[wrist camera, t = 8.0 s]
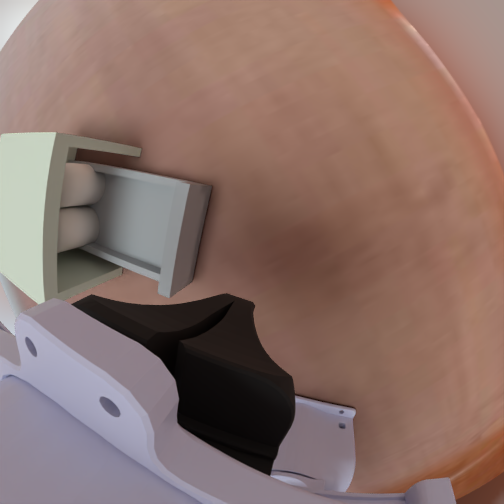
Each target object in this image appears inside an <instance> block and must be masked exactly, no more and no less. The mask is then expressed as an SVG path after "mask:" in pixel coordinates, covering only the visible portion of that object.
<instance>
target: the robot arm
mask: <svg viewBox="0 0 504 504" xmlns="http://www.w3.org/2000/svg"><path fill="white" fill-rule="evenodd" d="M254 308H255V305H254V303H253V302H251V301H248V300H245V299H242V298H239V297H236V296H233V295H230V294H227V293H226V294H221V295H217V296H213V297H210V298H206V299H202V300H198V301H192V302H187V303H182V304H173V305H141V304H132V303H125V302H119V301H114V300H110V299H107V298H103V297H99V296H95V295H92V294H91V295H89V296H87V297H85V298H83V299H81V300H79V301H77V302H75V303H73V304H69V303H68V302H66V301H63V300H60V299H56V298H52V299H50V300H48V301H46V302H43V303H41V304H39V305H37V306H34V307H32V308H30V309H28V310H26V311H23V312H21V313H20V314H19V316H18V317H17V318H16V320H15V336H14V335H13V334H12V333H11V332H10V331H9V330H8V329H7V328H6V327H5V326H4V325H3V324H2V323H1V322H0V504H456V501H455V497H454V493H453V490H452V486H451V482H450V479H449V478H438V479H427V480H422V481H420V482H418V483H416V484H414V485H413V486H412V487H411V488H409V489H408V490H407V491H406V492H405V493H395V494H368V493H348V492H346V490H347V489H348V487H349V485H350V483H351V481H352V478H353V474H354V470H355V463H356V456H355V440H354V428H353V417H354V416H355V414H356V410H355V409H354V408H349V407H344V406H339V405H334V404H329V403H325V402H320V401H316V400H312V399H308V398H304V397H300V396H296V395H295V390H294V384H293V379H292V376H291V375H289V374H288V373H287V372H285V371H284V370H283V369H282V368H280V367H279V366H278V365H277V364H276V363H275V362H274V361H273V360H272V359H271V358H270V357H269V355H268V354H267V353H266V351H265V350H264V348H263V347H262V345H261V343H260V341H259V338H258V336H257V333H256V329H255V325H254V318H253V311H254ZM341 410H343V411H341Z"/></svg>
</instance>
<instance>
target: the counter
mask: <svg viewBox="0 0 504 504" xmlns="http://www.w3.org/2000/svg"><path fill="white" fill-rule="evenodd" d="M77 148H82V149H89V150H97V151H104V152H111V153H117V154H124V155H130V156H136V157H140V154H141V150H142V148H138V147H133V146H129V145H124V144H119V143H114V142H109V141H104V140H99V139H93V138H88V137H82V136H76V135H70V134H63V133H56V132H39V133H10V134H1V139H0V272H1V273H2V274H3V275H4V276H5V277H7V278H8V279H9V280H10V281H11V282H12V283H13V284H14V285H16V286H17V287H18V288H19V289H20V290H22V291H23V292H24V293H25V294H26V295H28V296H29V297H30V298H31V299H33V300H34V301H35V302H37V303H38V304H41V303H43V302H46V301H48V300H50V299H52V298H56V299H60V300H63V301H64V300H66V299H69V298H71V297H73V296H75V295H77V294H80V293H82V292H84V291H86V290H88V289H91V288H93V287H95V286H97V285H100V284H102V283H104V282H106V281H109V280H111V279H113V278H115V277H118V276H120V275H122V269H123V267H122V266H119V265H117V264H115V263H112V262H110V261H107V260H105V259H103V258H100V257H98V256H96V255H94V254H91V253H89V252H87V251H85V250H82V249H80V248H74V249H70V250H67V251H63V252H60V253H57V240H58V222H59V210H60V200H61V192H62V184H63V178H64V171H65V165H66V163H68V160H73V161H75V157H76V152H77ZM61 208H62V207H61Z"/></svg>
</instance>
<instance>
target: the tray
mask: <svg viewBox="0 0 504 504" xmlns="http://www.w3.org/2000/svg"><path fill="white" fill-rule="evenodd" d="M211 189H212V186H209V185H205V184H201V183H196V182H192V181H187V180H182V179H178V178H173V177H168V176H163V175H158V174H153V173H148V172H143V171H138V170H132V169H127V168H121V167H115V166H110V165H104V164H97V163H91V162H85V161H73V160H68V163H66V165H65V171H64V178H63V184H62V192H61V200H60V210H59V222H58V240H57V253H60V252H63V251H67V250H70V249H74V248H80V249H82V250H85V251H87V252H89V253H91V254H94V255H96V256H98V257H100V258H103V259H105V260H107V261H110V262H112V263H115V264H117V265H119V266H122V267H124V268H127V269H129V270H131V271H134V272H136V273H139V274H141V275H144V276H146V277H149V278H151V279H154V280H157V281H159V286H158V294H160V295H163V296H165V297H168V298H170V297H172V296H173V295H175V294H176V293H177V292H179V291H180V290H182V289H183V288H184V287H186V286H187V285H189V284H190V283H191V282H192V280H193V275H194V270H195V264H196V259H197V254H198V249H199V244H200V239H201V234H202V229H203V225H204V220H205V215H206V211H207V206H208V202H209V198H210V193H211ZM61 207H62V208H61Z"/></svg>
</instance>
